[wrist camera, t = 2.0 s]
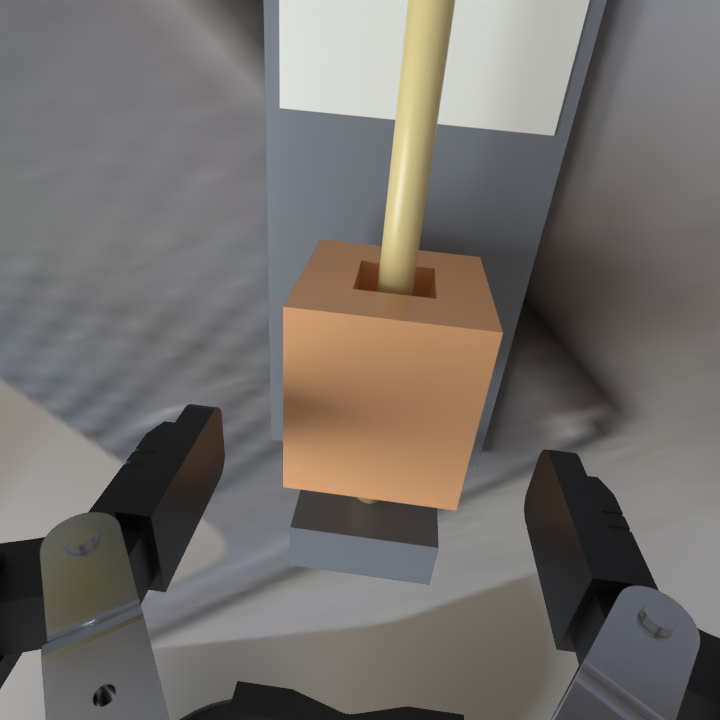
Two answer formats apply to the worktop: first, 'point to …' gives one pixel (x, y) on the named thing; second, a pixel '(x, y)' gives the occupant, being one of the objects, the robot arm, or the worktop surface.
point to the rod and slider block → (412, 186)
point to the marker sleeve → (385, 376)
